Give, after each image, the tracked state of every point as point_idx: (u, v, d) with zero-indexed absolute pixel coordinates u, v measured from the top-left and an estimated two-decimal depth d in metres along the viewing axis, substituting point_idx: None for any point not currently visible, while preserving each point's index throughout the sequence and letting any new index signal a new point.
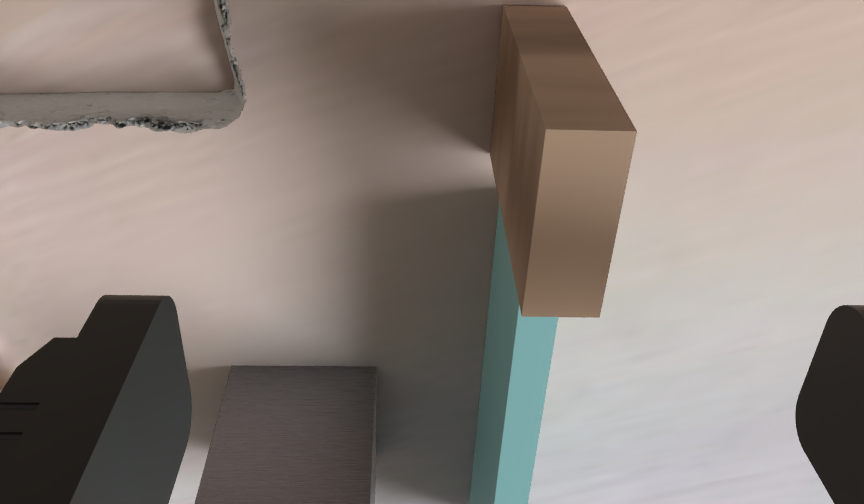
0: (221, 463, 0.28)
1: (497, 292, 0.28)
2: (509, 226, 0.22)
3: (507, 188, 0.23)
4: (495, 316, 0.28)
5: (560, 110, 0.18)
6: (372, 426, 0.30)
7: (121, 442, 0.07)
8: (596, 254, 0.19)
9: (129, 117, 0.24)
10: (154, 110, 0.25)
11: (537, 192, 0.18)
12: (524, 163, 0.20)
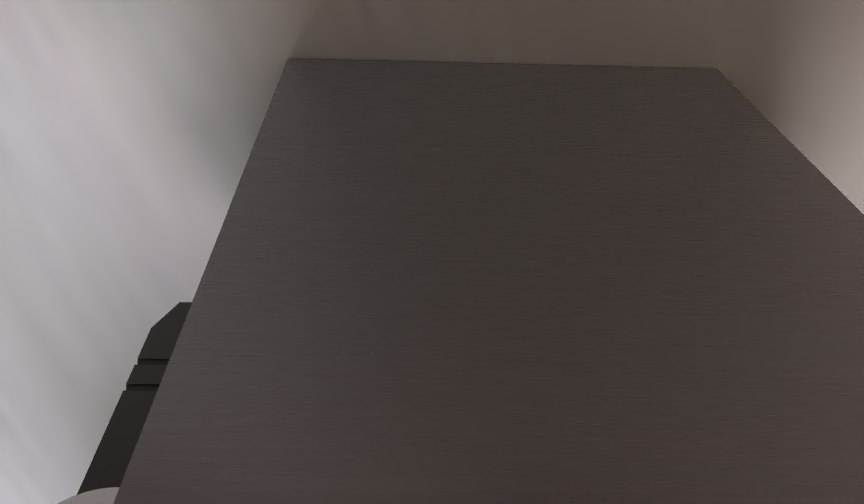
0: None
1: None
2: None
3: None
4: None
5: None
6: None
7: None
8: None
9: None
10: None
11: None
12: None
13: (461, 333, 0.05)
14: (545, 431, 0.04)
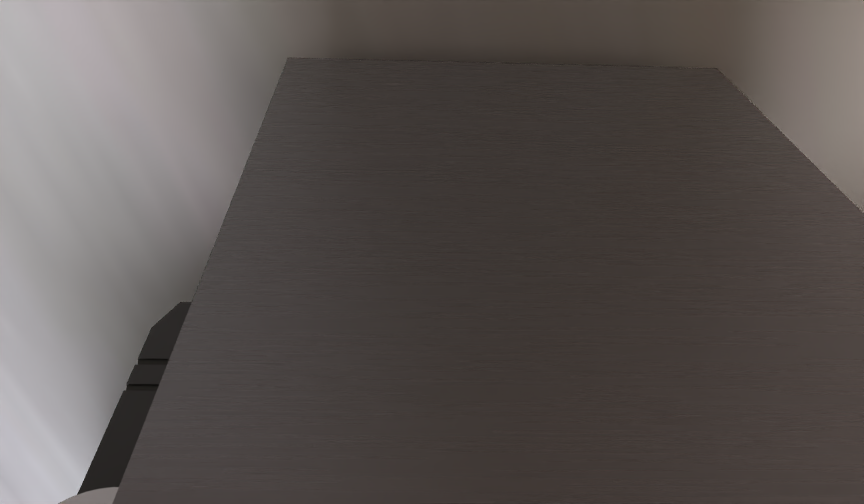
0: None
1: None
2: None
3: None
4: None
5: None
6: None
7: None
8: None
9: None
10: None
11: None
12: None
13: (461, 332, 0.05)
14: (545, 429, 0.04)
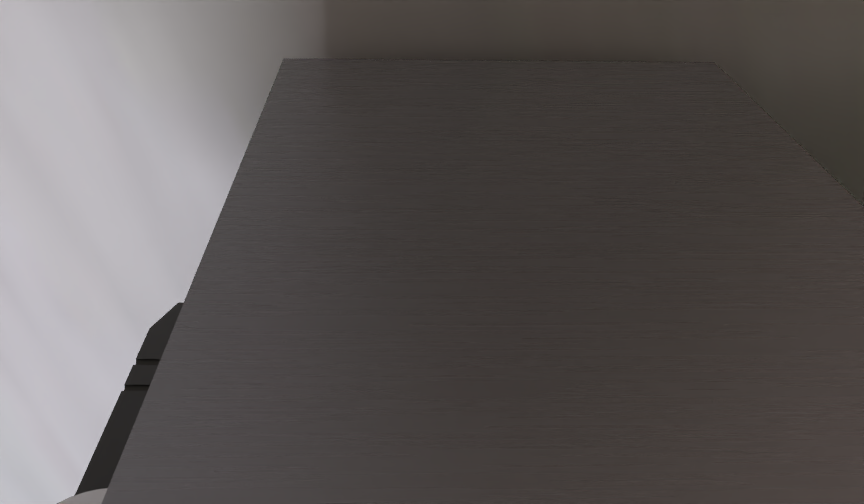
0: None
1: None
2: None
3: None
4: None
5: None
6: None
7: None
8: None
9: None
10: None
11: None
12: None
13: (454, 328, 0.05)
14: (537, 423, 0.04)
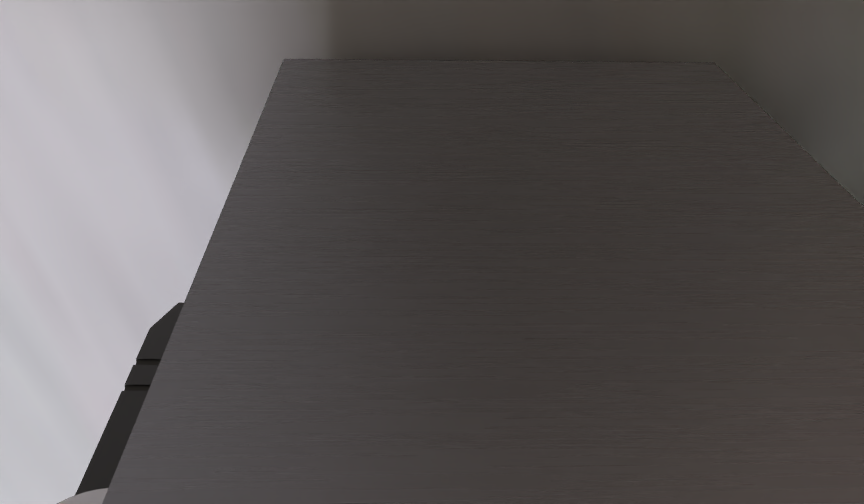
0: None
1: None
2: None
3: None
4: None
5: None
6: None
7: None
8: None
9: None
10: None
11: None
12: None
13: (454, 328, 0.05)
14: (537, 425, 0.04)
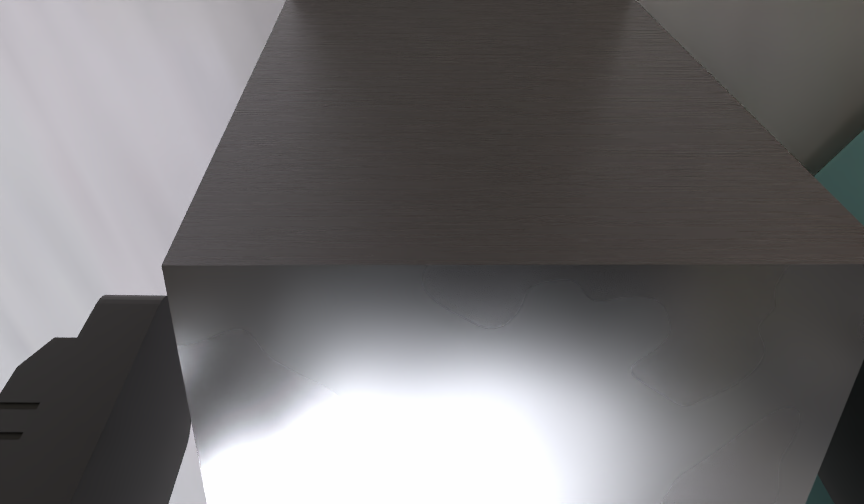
0: None
1: None
2: None
3: None
4: None
5: None
6: None
7: (121, 442, 0.07)
8: None
9: None
10: None
11: None
12: None
13: (412, 131, 0.08)
14: (461, 172, 0.07)
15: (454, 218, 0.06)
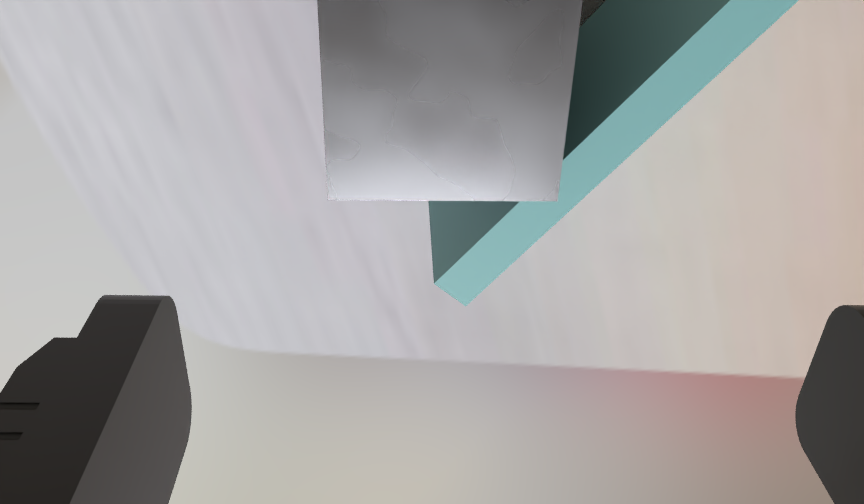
0: None
1: None
2: None
3: None
4: None
5: None
6: None
7: (121, 442, 0.07)
8: None
9: None
10: None
11: None
12: None
13: None
14: None
15: None
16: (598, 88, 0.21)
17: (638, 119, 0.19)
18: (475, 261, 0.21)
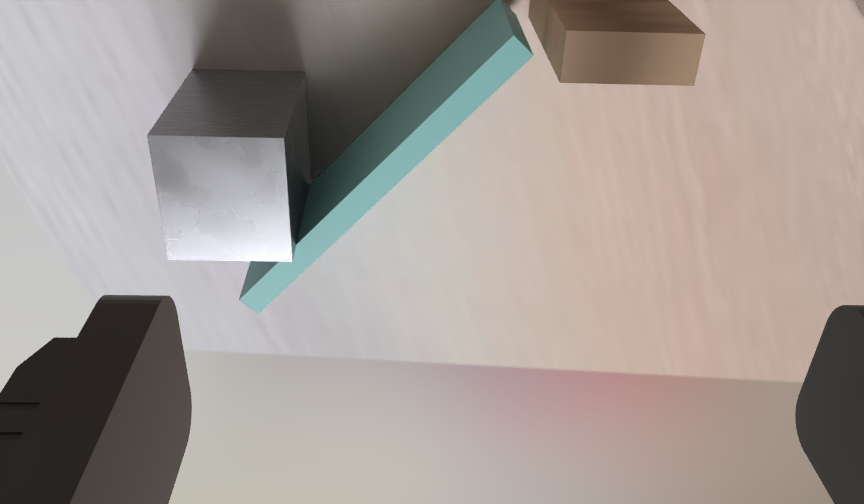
0: (293, 124, 0.35)
1: (454, 54, 0.36)
2: (567, 6, 0.32)
3: (578, 0, 0.33)
4: (439, 70, 0.36)
5: None
6: (303, 210, 0.39)
7: (121, 442, 0.07)
8: (611, 74, 0.30)
9: None
10: None
11: (662, 32, 0.29)
12: (639, 16, 0.31)
13: (206, 113, 0.34)
14: (211, 121, 0.33)
15: (205, 129, 0.32)
16: (331, 196, 0.37)
17: (342, 218, 0.36)
18: (261, 288, 0.38)
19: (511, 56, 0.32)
